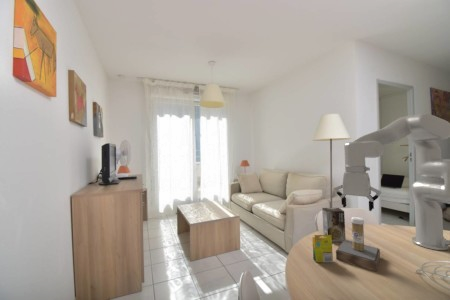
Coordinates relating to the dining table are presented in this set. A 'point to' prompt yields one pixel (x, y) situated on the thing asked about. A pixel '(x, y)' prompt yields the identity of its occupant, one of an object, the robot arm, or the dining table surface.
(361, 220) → the spice jar
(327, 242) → the crayon box
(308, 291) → the dining table surface
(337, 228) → the coffee box
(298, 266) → the dining table surface
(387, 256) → the dining table surface
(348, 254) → the walnut plinth
